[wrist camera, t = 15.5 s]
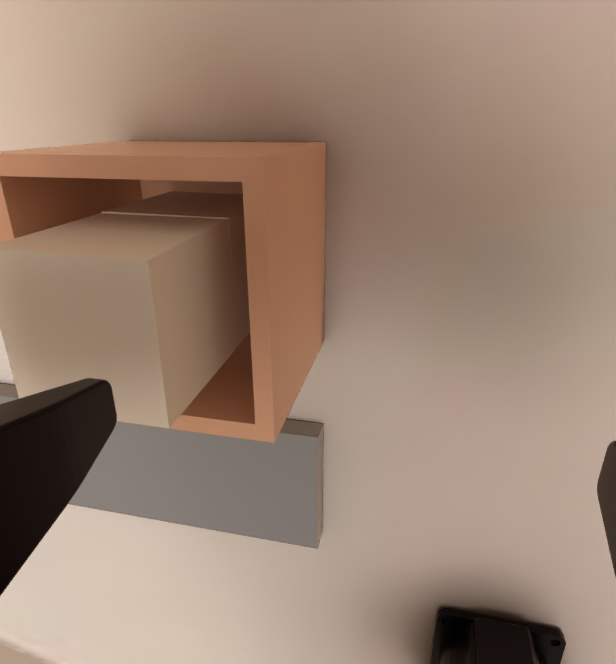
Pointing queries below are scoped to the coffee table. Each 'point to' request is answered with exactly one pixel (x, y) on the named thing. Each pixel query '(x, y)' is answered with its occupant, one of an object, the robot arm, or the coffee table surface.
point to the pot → (260, 236)
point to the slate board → (211, 479)
